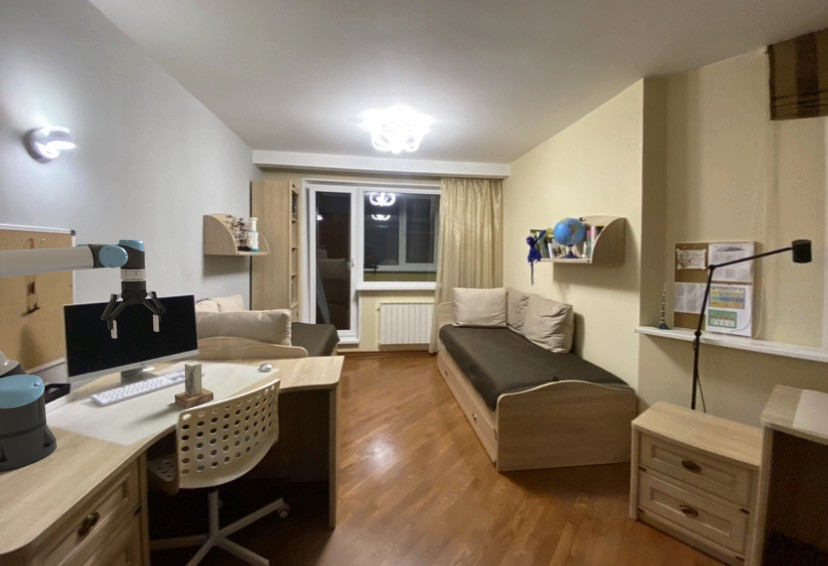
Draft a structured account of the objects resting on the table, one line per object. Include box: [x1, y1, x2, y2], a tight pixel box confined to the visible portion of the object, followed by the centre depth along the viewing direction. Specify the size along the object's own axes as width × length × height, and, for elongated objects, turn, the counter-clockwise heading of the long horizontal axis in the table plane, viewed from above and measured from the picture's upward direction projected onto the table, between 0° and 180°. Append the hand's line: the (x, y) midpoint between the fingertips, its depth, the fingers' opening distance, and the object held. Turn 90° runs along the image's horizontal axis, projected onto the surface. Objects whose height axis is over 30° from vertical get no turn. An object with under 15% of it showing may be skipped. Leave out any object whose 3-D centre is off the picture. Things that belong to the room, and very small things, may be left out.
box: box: [184, 360, 203, 396], centre depth 143 cm, size 5×4×13 cm
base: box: [174, 387, 214, 409], centre depth 144 cm, size 10×10×3 cm
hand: (136, 334), depth 136 cm, fingers open, 13 cm apart
